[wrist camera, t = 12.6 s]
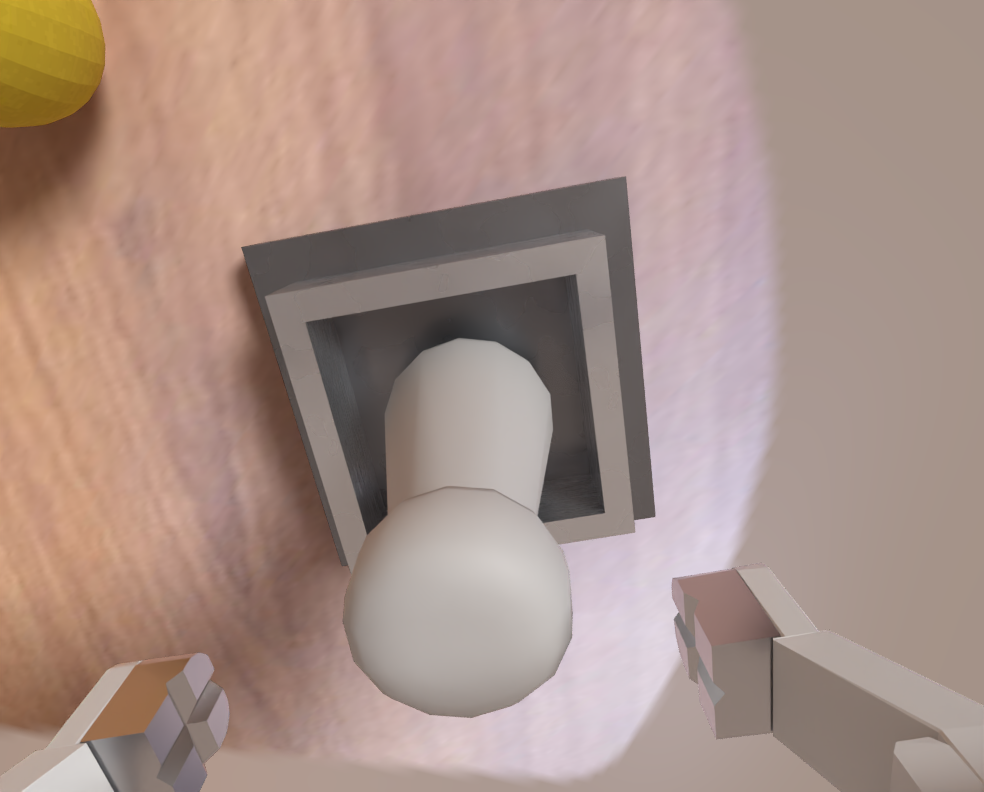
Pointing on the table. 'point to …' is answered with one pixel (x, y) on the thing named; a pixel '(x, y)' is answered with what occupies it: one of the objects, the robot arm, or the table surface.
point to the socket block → (471, 315)
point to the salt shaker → (462, 539)
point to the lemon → (48, 59)
